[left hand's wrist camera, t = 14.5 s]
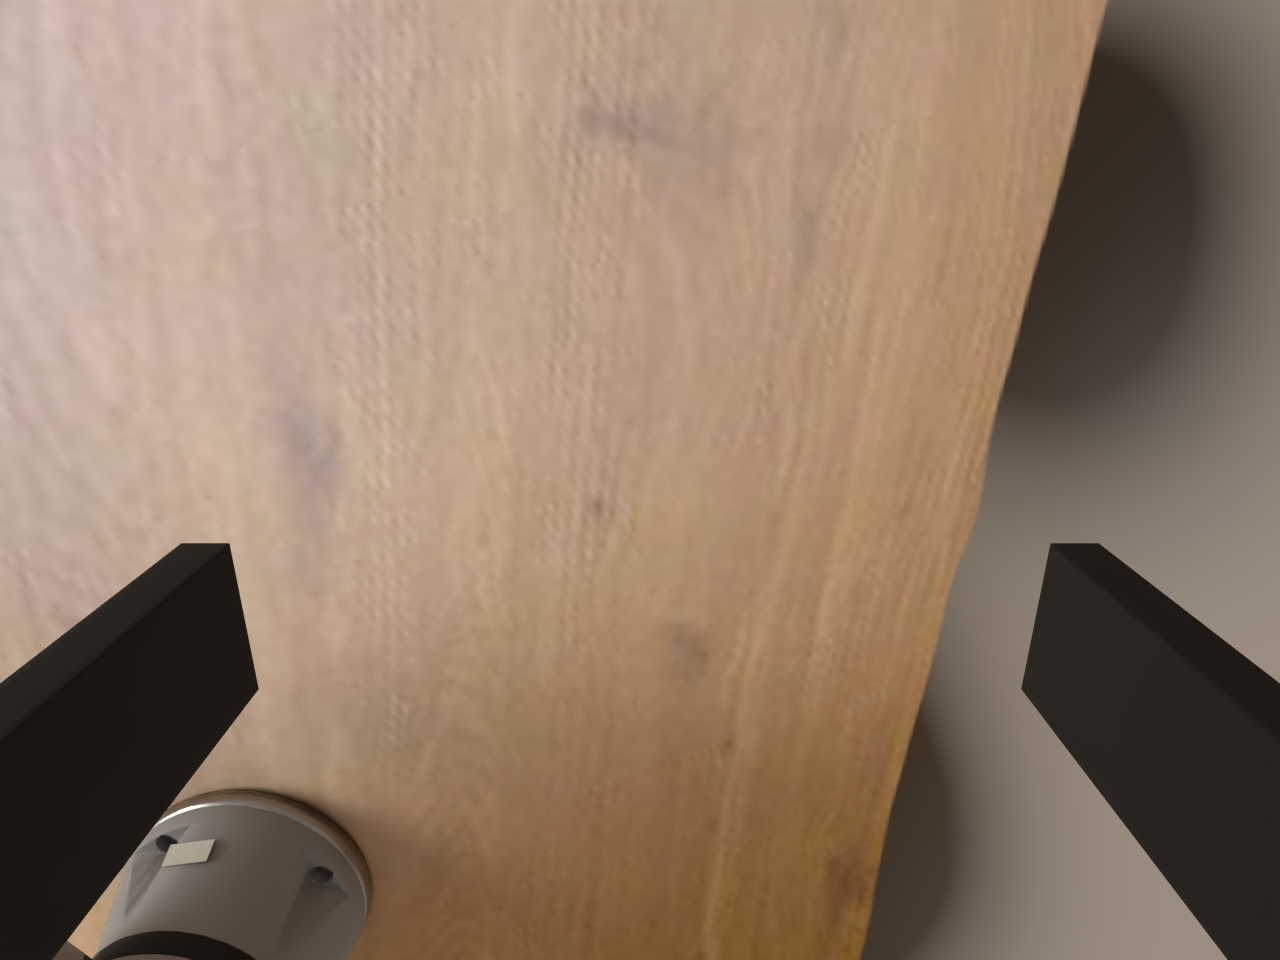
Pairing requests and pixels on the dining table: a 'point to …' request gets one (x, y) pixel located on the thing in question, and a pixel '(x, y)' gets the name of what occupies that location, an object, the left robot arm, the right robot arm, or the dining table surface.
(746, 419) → the dining table surface
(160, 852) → the left robot arm
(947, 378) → the dining table surface
